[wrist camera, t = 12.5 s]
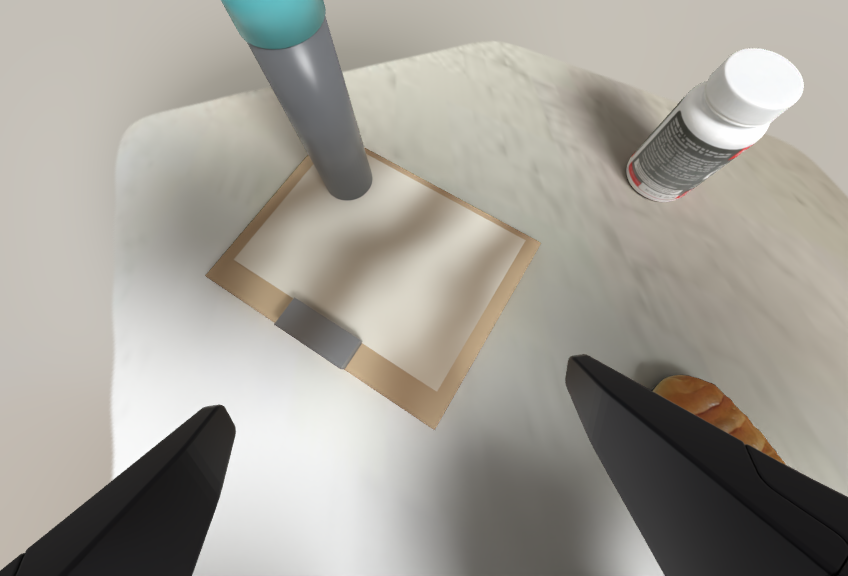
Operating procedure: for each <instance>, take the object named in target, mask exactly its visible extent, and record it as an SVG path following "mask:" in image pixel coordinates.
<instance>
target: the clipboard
mask: <svg viewBox="0 0 848 576" xmlns="http://www.w3.org/2000/svg"><path fill="white" fill-rule="evenodd" d="M364 149H365V152H366V156H367V159H368V162H369V166H370V169H371V172H372V184H371V187H370V189H369V190H368V191H367V192H366V193H365V194H364V195H363V196H361V197H360V198H357V199H354V200H348V201H347V200H340V199H337V198H335V197H334V196H332V195H331V194H330V193H329V191H328V190H327V188H326V186H325V184H324V182H323V181H322V179H321V177H320V175H319V173H318V171H317V170H316V168H315V166H314V164H313V162H312V160H311V159H310V157H309V155H307V156H306V158H305V159H304V160H303V161H302V162H301V164H300V165H299V166H298V167H297V168H296V169H295V171H294V172H293V173H292V174H291V175H290V176H289V178H288V179H287V180H286V181H285V182H284V184H283V185H282V186H281V187H280V188H279V189H278V191H277V192H276V193H275V194H274V195H273V196H272V198H271V199H270V200H269V201H268V202H267V204H266V205H265V206H264V207H263V208H262V209H261V211H260V212H259V213H258V214H257V215H256V217H255V218H254V219H253V220H252V221H251V222H250V224H249V225H248V226H247V227H246V228H245V229H244V231H243V232H242V233H241V234H240V235H239V237H238V238H237V239H236V240H235V241H234V242H233V244H232V245H231V246H230V247H229V248H228V249H227V251H226V252H225V253H224V254H223V255H222V257H221V258H220V259H219V260H218V261H217V262H216V264H215V265H214V266H213V267H212V268H211V269H210V271H209V272H208V273H207V274H206V275H205V276H206V277H207V278H209V279H210V280H212V281H213V282H215V283H216V284H218V285H219V286H221V287H222V288H224V289H225V290H227V291H228V292H230V293H231V294H233V295H234V296H236V297H237V298H239V299H240V300H242V301H243V302H245V303H246V304H248V305H249V306H251V307H252V308H254V309H255V310H257V311H258V312H260V313H261V314H262V315H264V316H265V317H267V318H268V319H270V320H271V321H273V322H274V323H275V324H274V325H276V326H277V327H279V328H280V329H282V330H283V331H285V332H286V333H288V334H289V335H291V336H292V337H294V338H295V339H297V340H298V341H300V342H301V343H303V344H304V345H306V346H307V347H309V348H310V349H312V350H313V351H315V352H316V353H318V354H319V355H321V356H322V357H324V358H325V359H326V360H328V361H329V362H331V363H332V364H334V365H335V366H337V367H338V368H340V369H344V370H346V371H347V372H349V373H350V374H352V375H353V376H355V377H356V378H358V379H359V380H361V381H362V382H364V383H365V384H367V385H368V386H370V387H371V388H373V389H374V390H376V391H377V392H379V393H380V394H382V395H383V396H385V397H386V398H388V399H389V400H390V401H392V402H393V403H395V404H396V405H398V406H399V407H401V408H402V409H404V410H405V411H407V412H408V413H410V414H411V415H413V416H414V417H416V418H417V419H419V420H420V421H422V422H423V423H425V424H426V425H428V426H429V427H431V428H432V429H434V430H435V428H436V427H437V425H438V423H439V421H440V420H441V418H442V416H443V414H444V413H445V411H446V409H447V407H448V406H449V404H450V402H451V400H452V399H453V397H454V395H455V393H456V392H457V390H458V388H459V386H460V385H461V383H462V381H463V379H464V378H465V376H466V374H467V372H468V370H469V369H470V367H471V365H472V363H473V362H474V360H475V358H476V356H477V355H478V353H479V351H480V349H481V348H482V346H483V344H484V342H485V341H486V339H487V337H488V335H489V334H490V332H491V330H492V328H493V327H494V325H495V323H496V321H497V320H498V318H499V316H500V314H501V313H502V311H503V309H504V307H505V306H506V304H507V302H508V300H509V299H510V297H511V295H512V293H513V292H514V290H515V288H516V286H517V285H518V283H519V281H520V279H521V278H522V276H523V274H524V272H525V271H526V269H527V267H528V265H529V263H530V262H531V260H532V258H533V256H534V255H535V253H536V251H537V249H538V248H539V246H540V244H541V243H540V242H539V241H537V240H535V239H533V238H531V237H529V236H527V235H526V234H524V233H522V232H520V231H518V230H516V229H515V228H513V227H511V226H509V225H507V224H505V223H503V222H502V221H500V220H498V219H496V218H494V217H492V216H490V215H489V214H487V213H485V212H483V211H481V210H479V209H477V208H476V207H474V206H472V205H470V204H468V203H466V202H464V201H463V200H461V199H459V198H457V197H455V196H453V195H451V194H450V193H448V192H446V191H444V190H442V189H440V188H438V187H437V186H435V185H433V184H431V183H429V182H427V181H425V180H424V179H422V178H420V177H418V176H416V175H414V174H413V173H411V172H409V171H407V170H405V169H403V168H401V167H400V166H398V165H396V164H394V163H392V162H390V161H388V160H387V159H385V158H383V157H381V156H379V155H377V154H375V153H374V152H372V151H370V150H368V149H366V148H364Z"/></svg>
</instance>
